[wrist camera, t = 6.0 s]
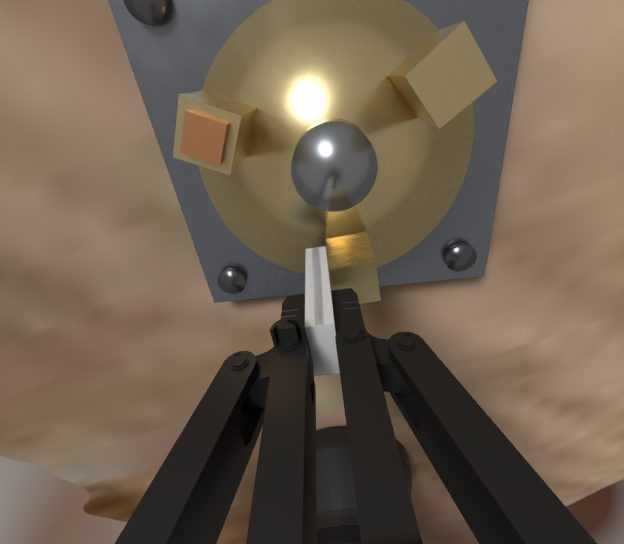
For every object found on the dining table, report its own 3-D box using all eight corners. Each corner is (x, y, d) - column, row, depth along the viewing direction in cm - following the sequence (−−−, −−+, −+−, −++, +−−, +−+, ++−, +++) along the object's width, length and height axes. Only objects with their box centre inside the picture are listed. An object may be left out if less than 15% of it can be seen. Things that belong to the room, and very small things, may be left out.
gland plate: (473, 262, 25) (488, 280, 23) (221, 287, 27) (212, 307, 25) (524, -115, 15) (559, -147, 13) (114, -36, 17) (83, -52, 15)
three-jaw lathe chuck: (508, 57, 17) (601, 50, 11) (391, 279, 24) (412, 342, 18) (234, -57, 15) (184, -134, 9) (194, 222, 22) (152, 273, 16)
